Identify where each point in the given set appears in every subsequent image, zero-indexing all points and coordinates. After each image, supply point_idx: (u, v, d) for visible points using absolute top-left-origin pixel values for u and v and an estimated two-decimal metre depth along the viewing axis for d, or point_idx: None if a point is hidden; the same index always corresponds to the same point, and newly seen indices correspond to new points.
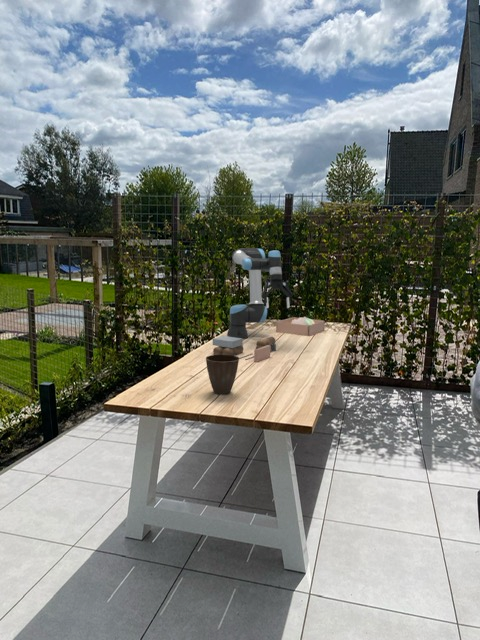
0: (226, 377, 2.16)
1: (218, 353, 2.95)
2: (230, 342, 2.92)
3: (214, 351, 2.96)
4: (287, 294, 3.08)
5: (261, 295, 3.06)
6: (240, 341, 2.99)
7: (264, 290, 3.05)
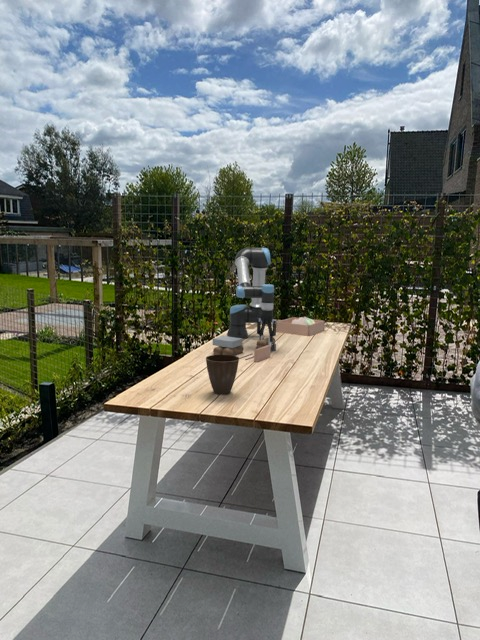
0: (226, 377, 2.16)
1: (218, 353, 2.95)
2: (230, 342, 2.92)
3: (214, 351, 2.96)
4: (269, 333, 3.03)
5: None
6: (240, 341, 2.99)
7: (257, 328, 3.07)
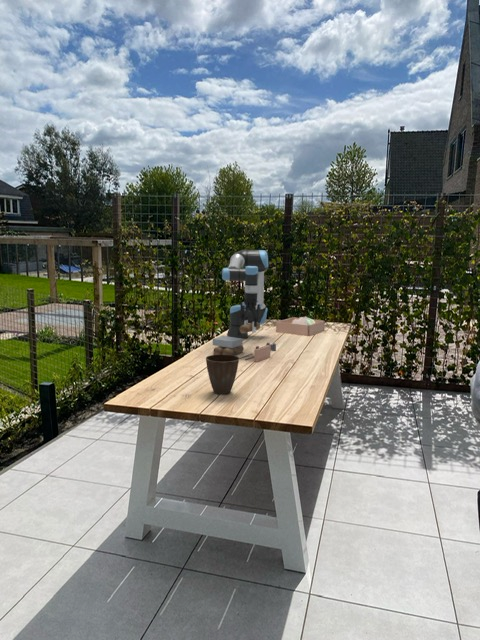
0: (226, 377, 2.16)
1: (218, 353, 2.95)
2: (230, 342, 2.92)
3: (214, 351, 2.96)
4: (253, 317, 2.87)
5: None
6: (240, 341, 2.99)
7: (240, 312, 2.91)
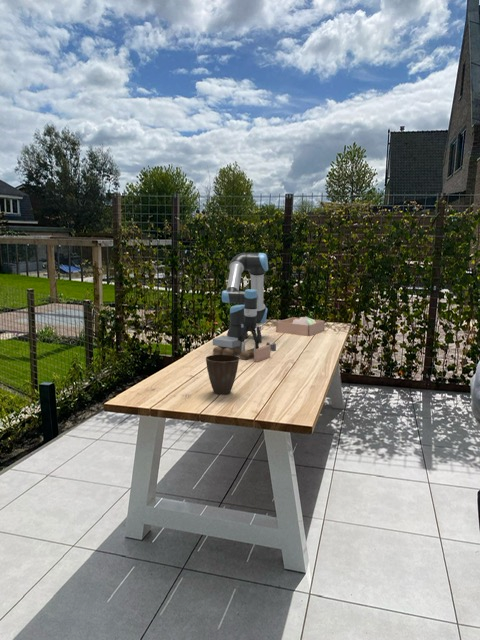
0: (226, 377, 2.16)
1: (218, 353, 2.95)
2: (230, 342, 2.92)
3: (214, 351, 2.96)
4: (254, 340, 2.88)
5: None
6: None
7: (238, 334, 2.94)
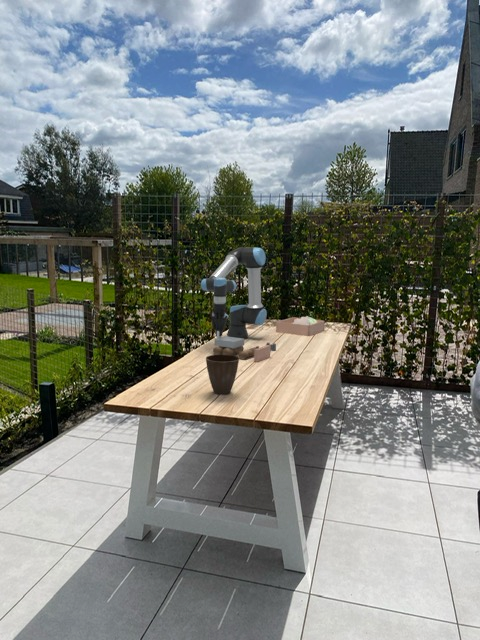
0: (226, 377, 2.16)
1: (218, 353, 2.95)
2: (232, 342, 2.91)
3: (214, 351, 2.96)
4: (219, 327, 3.00)
5: None
6: (242, 341, 2.99)
7: (212, 323, 3.03)
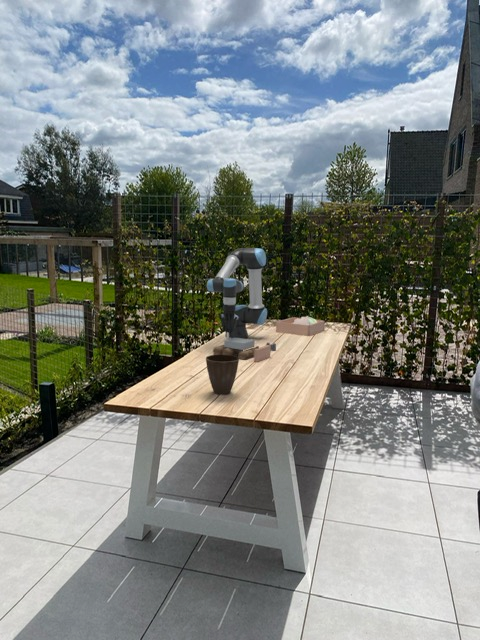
0: (226, 377, 2.16)
1: (218, 353, 2.95)
2: (242, 344, 2.87)
3: (214, 351, 2.96)
4: (229, 328, 2.97)
5: None
6: (252, 343, 2.95)
7: (222, 324, 2.99)
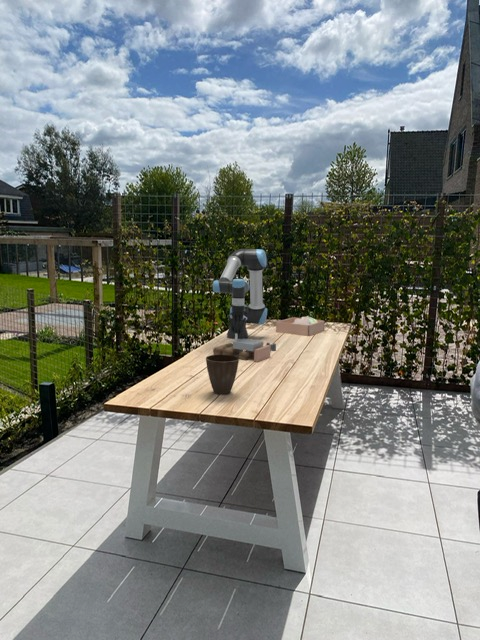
0: (226, 377, 2.16)
1: (218, 353, 2.95)
2: (251, 345, 2.84)
3: (214, 351, 2.96)
4: (237, 329, 2.94)
5: None
6: (261, 344, 2.92)
7: (230, 325, 2.96)
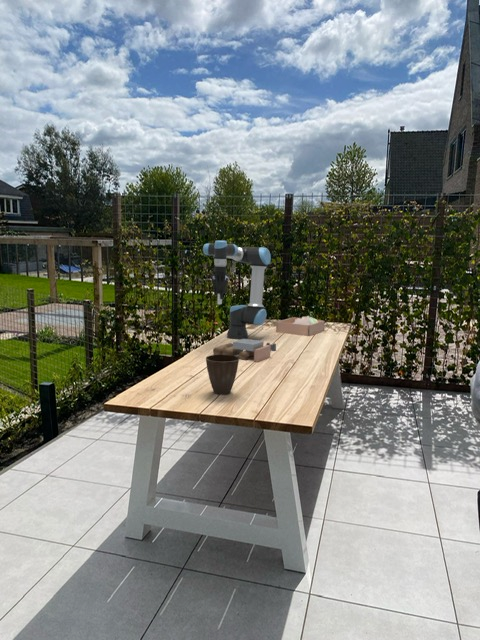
0: (226, 377, 2.16)
1: (218, 353, 2.95)
2: (251, 345, 2.84)
3: (214, 351, 2.96)
4: (220, 290, 3.02)
5: None
6: (261, 344, 2.92)
7: (213, 286, 3.04)
